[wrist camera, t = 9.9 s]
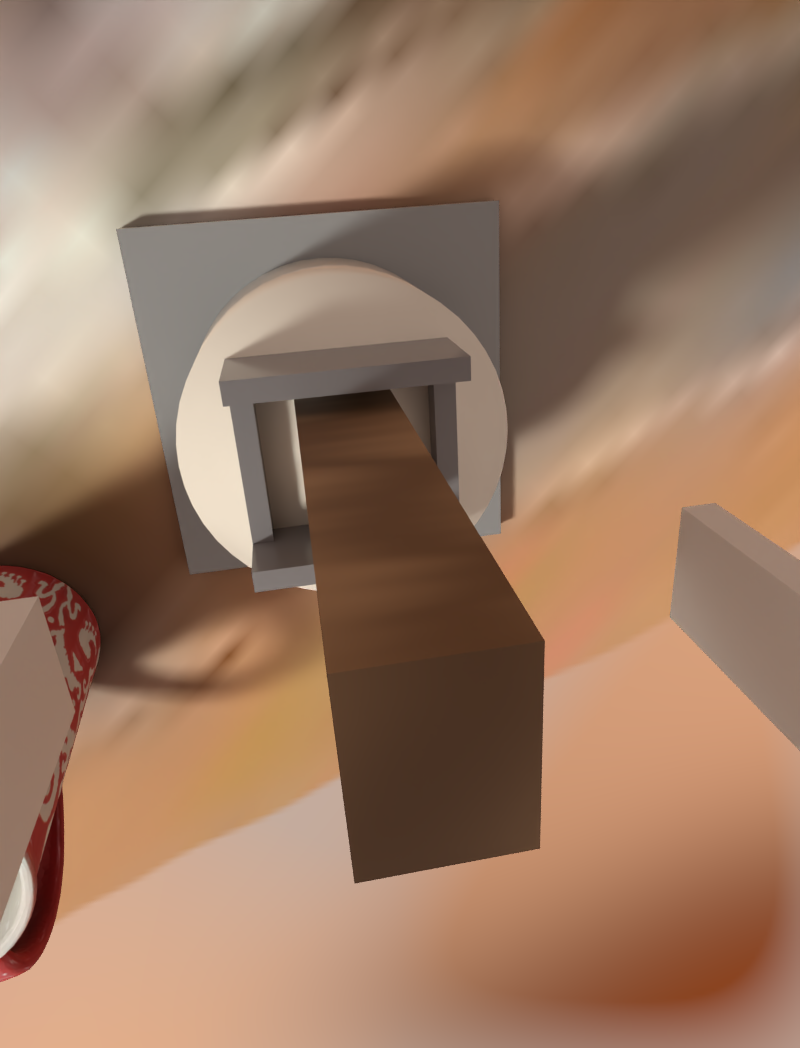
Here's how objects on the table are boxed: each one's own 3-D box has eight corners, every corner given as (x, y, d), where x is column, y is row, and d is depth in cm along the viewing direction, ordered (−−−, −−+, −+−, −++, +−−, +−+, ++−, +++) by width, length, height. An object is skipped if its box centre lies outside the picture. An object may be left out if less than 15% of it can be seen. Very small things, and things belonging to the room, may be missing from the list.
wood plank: (308, 507, 25) (354, 883, 11) (293, 392, 23) (326, 674, 10) (394, 496, 25) (540, 848, 12) (386, 382, 23) (545, 641, 10)
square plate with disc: (191, 566, 32) (163, 705, 24) (120, 228, 26) (46, 245, 18) (495, 526, 34) (574, 642, 25) (493, 200, 28) (595, 204, 19)
